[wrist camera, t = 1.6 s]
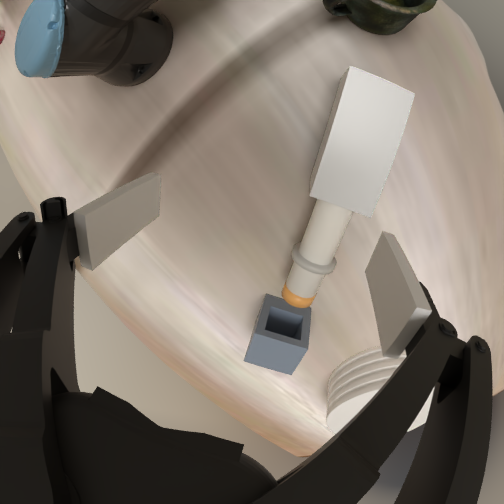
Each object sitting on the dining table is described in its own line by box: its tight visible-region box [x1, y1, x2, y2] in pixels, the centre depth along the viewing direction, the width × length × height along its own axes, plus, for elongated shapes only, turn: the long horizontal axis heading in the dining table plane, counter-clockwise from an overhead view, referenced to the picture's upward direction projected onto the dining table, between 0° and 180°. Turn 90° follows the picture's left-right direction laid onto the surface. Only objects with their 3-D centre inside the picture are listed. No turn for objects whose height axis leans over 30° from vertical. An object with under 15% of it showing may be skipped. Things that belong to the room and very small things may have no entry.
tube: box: [282, 199, 353, 308], centre depth 34 cm, size 32×7×7 cm, turn 166°
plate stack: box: [326, 346, 435, 434], centre depth 52 cm, size 28×28×12 cm
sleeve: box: [309, 66, 415, 218], centre depth 30 cm, size 16×8×10 cm, turn 166°
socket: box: [244, 294, 311, 375], centre depth 48 cm, size 8×9×10 cm
